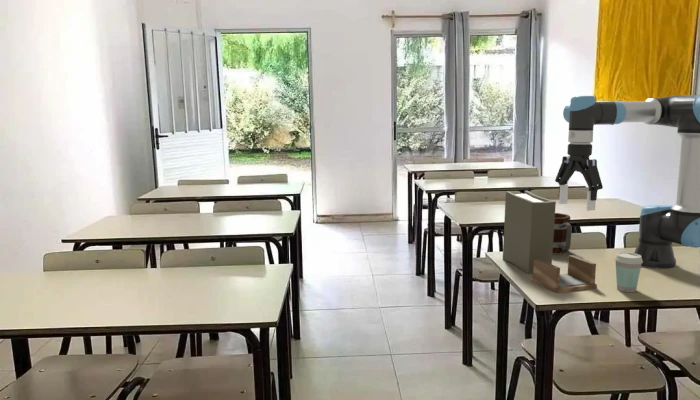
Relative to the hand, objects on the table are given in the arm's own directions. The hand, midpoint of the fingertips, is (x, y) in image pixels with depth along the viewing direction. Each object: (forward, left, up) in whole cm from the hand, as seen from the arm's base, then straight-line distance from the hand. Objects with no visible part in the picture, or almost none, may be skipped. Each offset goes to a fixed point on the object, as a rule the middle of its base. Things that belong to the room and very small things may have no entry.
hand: (576, 206), depth 193 cm
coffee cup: (-15, +9, -28) cm, 33 cm away
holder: (+1, -3, -28) cm, 28 cm away
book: (-1, -27, -28) cm, 39 cm away
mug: (-26, -42, -28) cm, 57 cm away
